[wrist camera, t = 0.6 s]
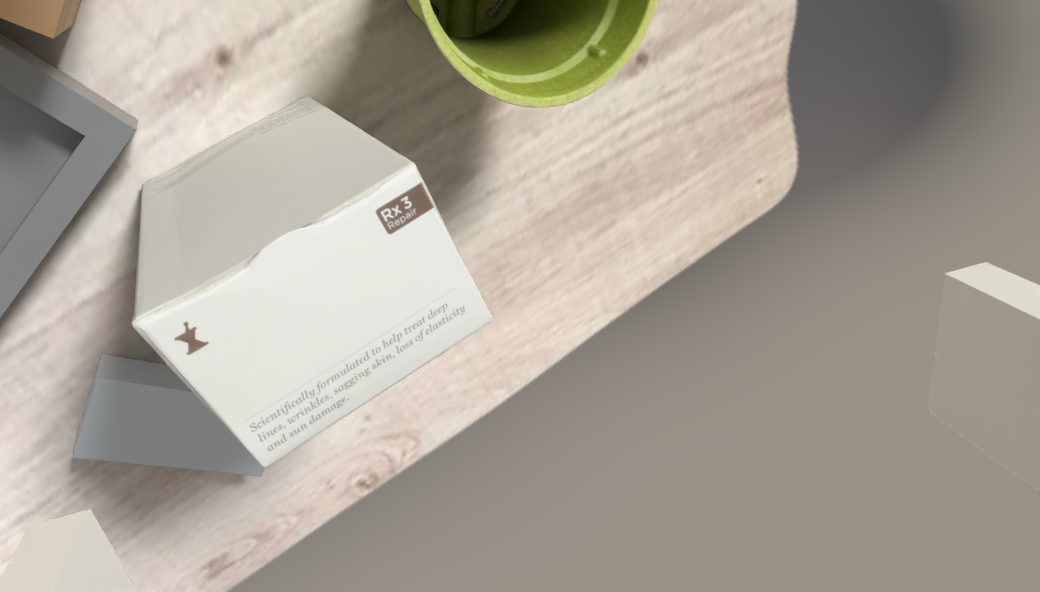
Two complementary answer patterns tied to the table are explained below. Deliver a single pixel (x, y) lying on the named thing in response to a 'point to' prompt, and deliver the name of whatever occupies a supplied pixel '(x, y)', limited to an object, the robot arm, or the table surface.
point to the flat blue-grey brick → (155, 422)
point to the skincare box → (297, 276)
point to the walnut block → (41, 14)
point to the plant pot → (537, 44)
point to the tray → (47, 157)
